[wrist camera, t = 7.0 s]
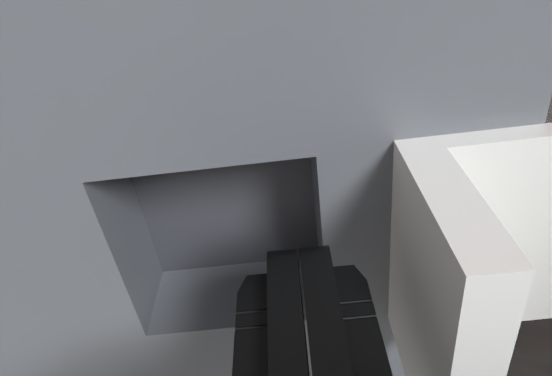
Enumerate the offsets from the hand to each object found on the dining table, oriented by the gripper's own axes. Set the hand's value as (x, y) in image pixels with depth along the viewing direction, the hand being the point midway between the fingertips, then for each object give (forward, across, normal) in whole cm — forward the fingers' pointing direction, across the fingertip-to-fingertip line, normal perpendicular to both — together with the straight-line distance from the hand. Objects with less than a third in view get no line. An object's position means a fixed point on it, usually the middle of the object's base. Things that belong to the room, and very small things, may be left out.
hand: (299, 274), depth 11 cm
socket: (+4, +2, 0) cm, 5 cm away
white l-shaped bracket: (+1, -5, 0) cm, 6 cm away
